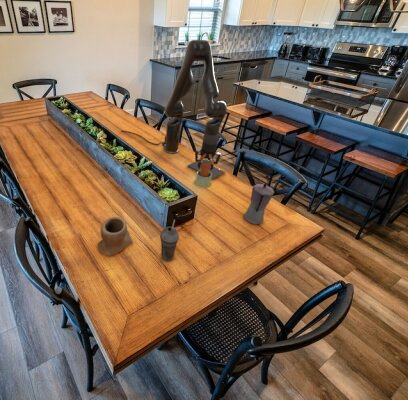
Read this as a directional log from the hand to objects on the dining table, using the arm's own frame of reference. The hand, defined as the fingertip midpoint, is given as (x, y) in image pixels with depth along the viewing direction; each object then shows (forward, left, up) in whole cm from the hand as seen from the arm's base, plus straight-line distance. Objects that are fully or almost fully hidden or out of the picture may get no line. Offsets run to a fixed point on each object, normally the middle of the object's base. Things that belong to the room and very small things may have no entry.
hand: (205, 168), depth 150 cm
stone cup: (+8, -67, -10) cm, 68 cm away
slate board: (-8, +13, -10) cm, 18 cm away
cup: (0, 0, -10) cm, 10 cm away
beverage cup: (+26, -55, -10) cm, 62 cm away
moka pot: (+37, -6, -10) cm, 39 cm away
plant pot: (0, 0, -7) cm, 7 cm away
